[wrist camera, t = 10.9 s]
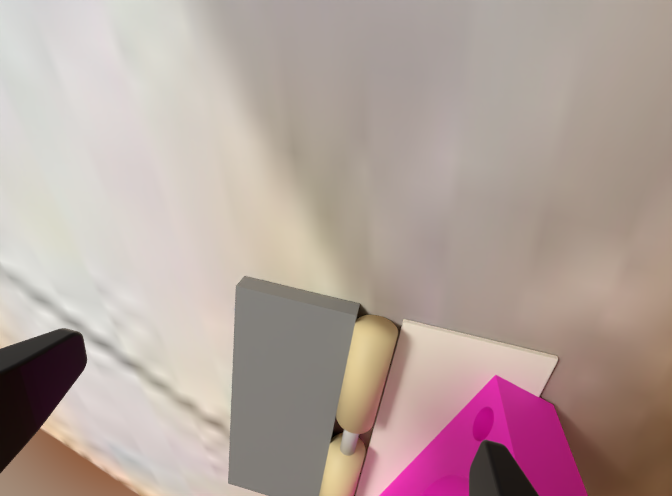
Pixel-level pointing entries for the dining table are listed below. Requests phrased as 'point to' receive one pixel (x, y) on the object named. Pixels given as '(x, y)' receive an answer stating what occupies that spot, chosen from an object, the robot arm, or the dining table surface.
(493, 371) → the leaf pad
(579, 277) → the dining table surface
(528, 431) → the toy block
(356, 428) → the hinge leaf
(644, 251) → the dining table surface
